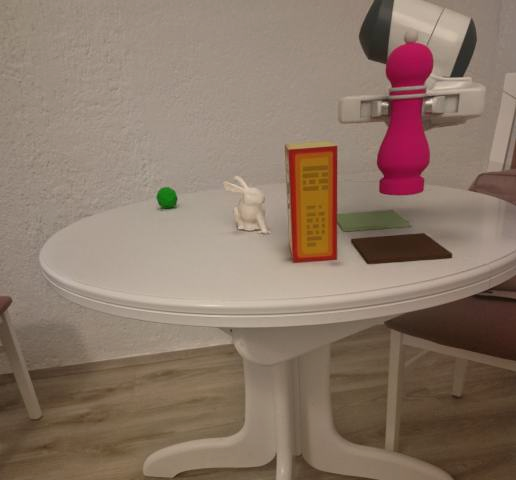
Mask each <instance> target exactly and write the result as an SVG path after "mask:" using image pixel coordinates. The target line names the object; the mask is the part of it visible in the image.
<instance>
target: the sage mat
mask: <svg viewBox="0 0 516 480" xmlns="http://www.w3.org/2000/svg"><path fill="white" fill-rule="evenodd" d="M337 226H338V227H339V228H340V229H341V231H342V232H343V233H344V232H345V233H346V232H356V231H358V232H359V231H370V230H371V231H373V230H385V229H399V228H410V227H411V226H412V223H411V222H410V221H408V220H407V219H406V218H404V217H403V216H402V215H400V214H399V213H398V212H396V211H395V210H393V209H384V210H371V211H370V210H369V211H358V212H357V211H356V212H345V213H343V212H342V213H337Z"/></svg>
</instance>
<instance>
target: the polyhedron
mask: <svg viewBox="0 0 516 480" xmlns="http://www.w3.org/2000/svg"><path fill="white" fill-rule="evenodd" d="M178 199H179V198H178V195H177V192H176V190H175V189H173V188H171V187H169V186H164V187H161V188H160V189H159V190H158V191H157V194H156V201H157V203H158V205H159V206H160V207H161V208H163V209H165V210H170V209H173V208H174V207H176V205H177V202H178Z"/></svg>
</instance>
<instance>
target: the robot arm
mask: <svg viewBox="0 0 516 480" xmlns="http://www.w3.org/2000/svg"><path fill="white" fill-rule="evenodd" d="M409 29H416V30H417V32H418V35H419V36H418V40H417V41H416V43H420V44H423V45H425V46H427V47H428V48H429V49H430V50H431V52H432V55H433V60H434V64H433V70H432V73H431V74H430V76H429V77H428V78H427V80H426V82H425V85H427V86H428V88H427V89H426V93H427V96H426V97H424V98H423V104H422V125H423V129H424V133H426V132H427V131H430V130H433V129H437V128H445V127H452V126H453V127H454V126H458V125H464V124H466V123H468V120H473V119H478V118H480V117H482V116H483V115H484V110H485V104H486V95H487V87H486V86H485V85H484V84H482V83H480V82H478V81H477V82H476V81H473V78H472V76H471V77H470V76H465V75H466V72H467V70H468V68H469V66H470V63H471V61H472V58H473V56H474V52H475V49H476V46H477V42H478V35H477V28H476V24H475V21H474V20H473V17H470V16H467V15H465V14H462V13H460V12H458V11H455V10H452V9H450V8H447V7H443V6H439V5H437V4H434V3H433V2H429V1H427V0H372V2H371V3H370V5H369V6H368V7H367V10H366V12H365V14H364V15H363V18H362V20H361V24H360V28H359V34H358V40H359V44H360V47H361V49H362V51H363V53H364V55H365V57H366V59H367V60H369V61H372V62H374V63H375V62H376V63H380V64H382V65H386V63H387V59H388V57H389V55H390V54H391V52H392V51H393V50H394V49H396V48H397V47H399V46H401V45H404V44H406V43H405V41H404V35H405V33H406V32H407V31H408V30H409ZM389 88H392V86H391V83H389V84H388V86H387V87H386V88H385V91H384V92H383V93H372V94H371V93H370V94H358V95H348V96H347V95H345V96H341V97H340V98H338V104H337V120H338V123H339V124H343V125H347V124H349V125H350V124H364V123H365V124H366V123H367V124H368V123H384V124H385V126H386V127H387V128H388V126H389V122H390V116H391V99H388V96H389V93H390V92H389V91H388V89H389Z"/></svg>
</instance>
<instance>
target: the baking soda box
mask: <svg viewBox="0 0 516 480" xmlns="http://www.w3.org/2000/svg"><path fill="white" fill-rule="evenodd" d="M284 159H285V179H286V180H285V183H286V184H285V185H286V206H287V208H286V209H287V230H288V231H287V232H288V248H289V251H290V256H291V261H292V264H293V263H295V264H296V263H308V262H322V261H335V260H336V261H337V260H338V224H337V214H338V145H336V144H334V143H333V142H331V141H329V140H320V141H308V142H307V141H306V142H296V143H295V142H294V143H285V144H284Z"/></svg>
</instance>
